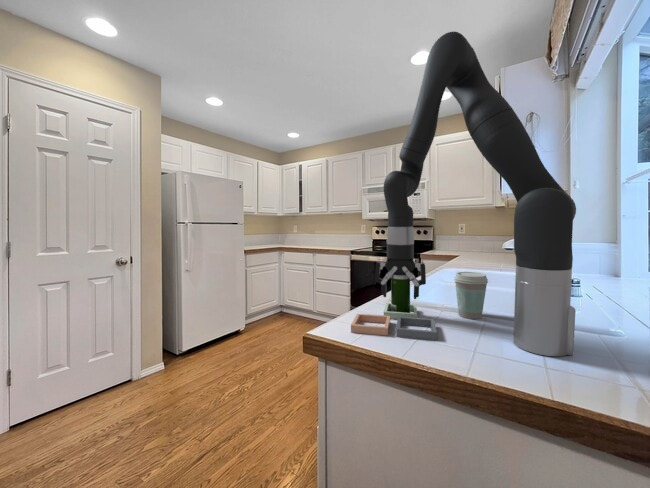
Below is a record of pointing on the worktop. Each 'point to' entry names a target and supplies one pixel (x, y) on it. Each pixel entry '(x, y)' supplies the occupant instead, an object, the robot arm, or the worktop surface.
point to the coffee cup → (470, 293)
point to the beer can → (400, 293)
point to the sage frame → (400, 314)
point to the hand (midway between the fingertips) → (399, 297)
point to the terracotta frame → (371, 329)
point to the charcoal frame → (413, 332)
